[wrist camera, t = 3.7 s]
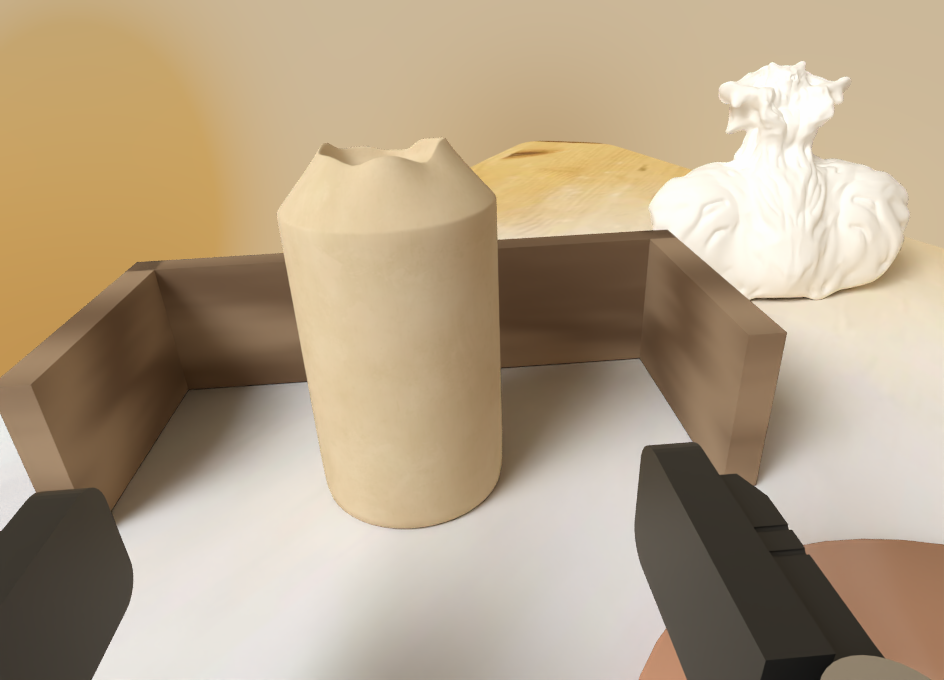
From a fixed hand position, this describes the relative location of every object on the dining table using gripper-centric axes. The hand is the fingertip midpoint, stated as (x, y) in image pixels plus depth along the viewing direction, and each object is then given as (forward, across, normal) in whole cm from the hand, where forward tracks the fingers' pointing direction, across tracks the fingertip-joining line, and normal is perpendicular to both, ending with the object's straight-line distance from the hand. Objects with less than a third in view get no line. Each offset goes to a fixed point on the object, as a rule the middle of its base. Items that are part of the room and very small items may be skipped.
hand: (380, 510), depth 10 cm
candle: (+9, 0, +6) cm, 11 cm away
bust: (+22, -18, +6) cm, 29 cm away
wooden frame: (+11, 0, +6) cm, 13 cm away
